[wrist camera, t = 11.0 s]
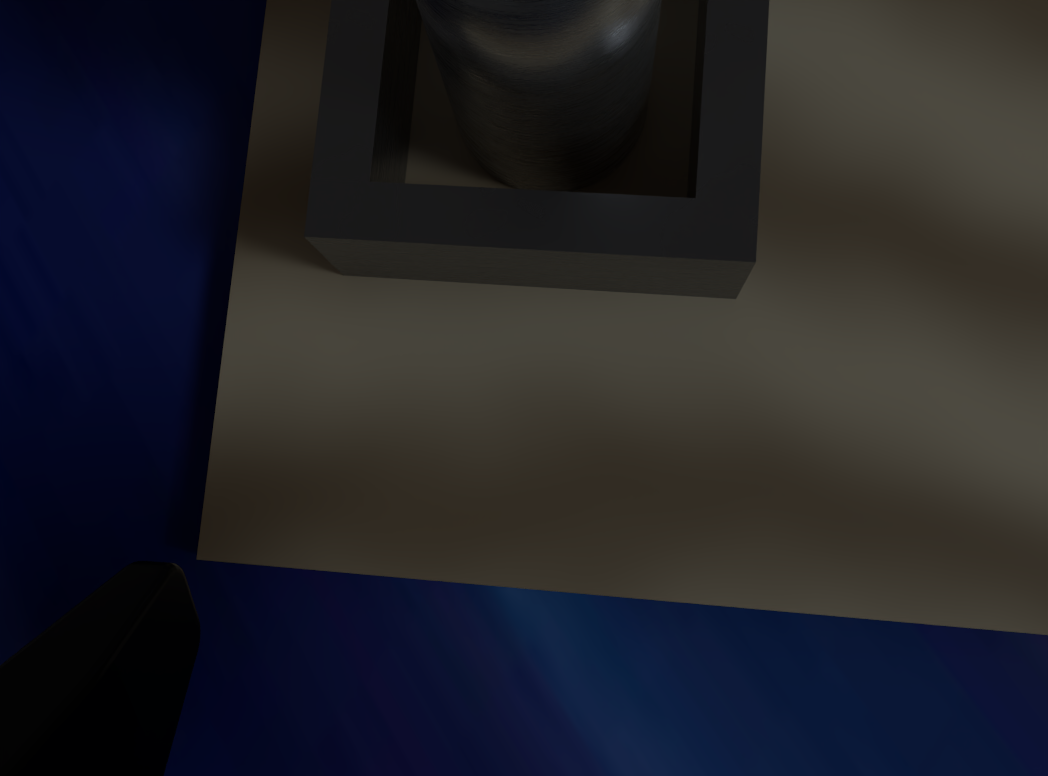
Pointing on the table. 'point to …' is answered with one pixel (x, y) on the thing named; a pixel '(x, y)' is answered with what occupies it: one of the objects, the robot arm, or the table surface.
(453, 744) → the table surface
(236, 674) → the table surface
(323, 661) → the table surface
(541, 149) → the pin
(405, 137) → the knuckle socket
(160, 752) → the robot arm
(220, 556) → the board
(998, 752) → the table surface
